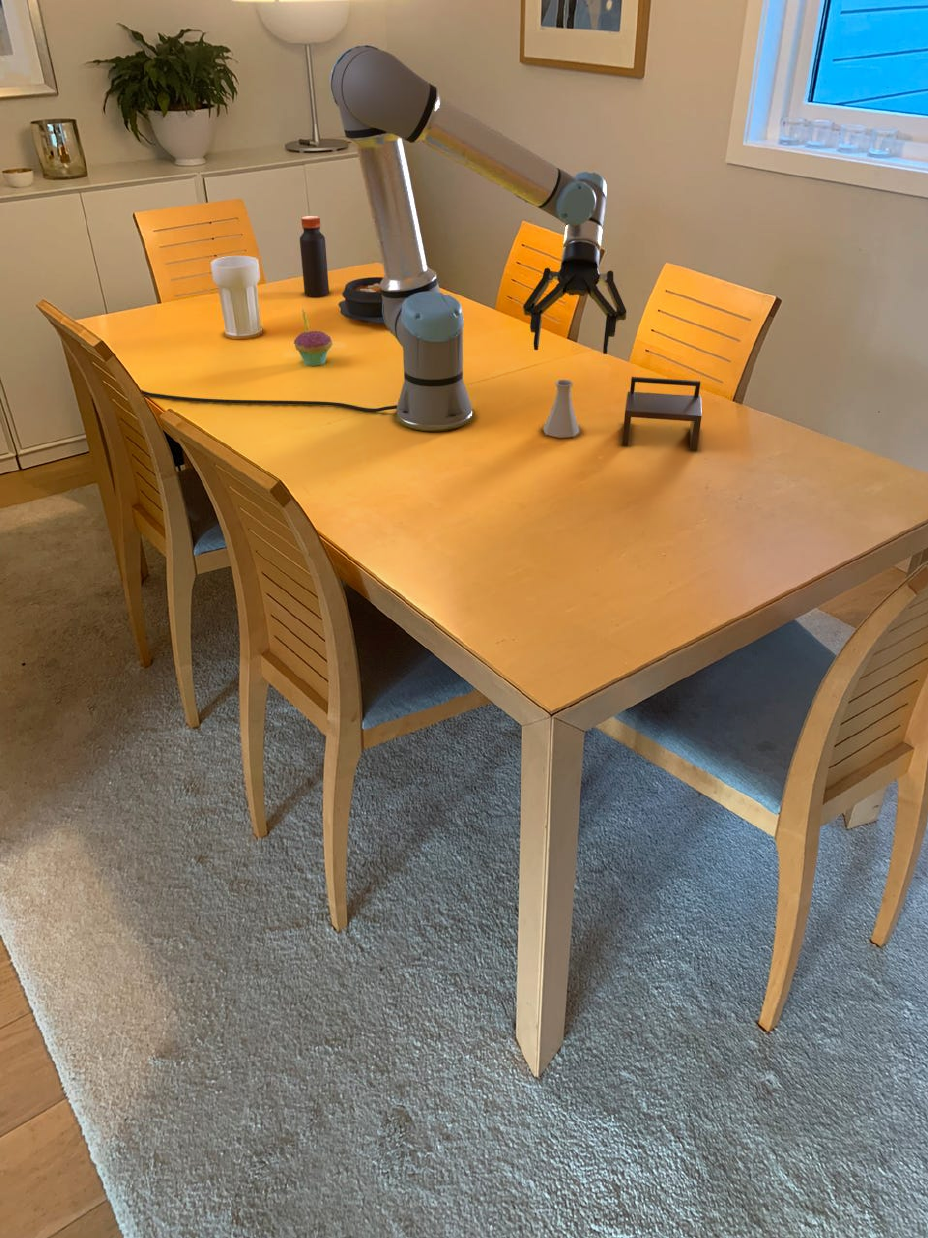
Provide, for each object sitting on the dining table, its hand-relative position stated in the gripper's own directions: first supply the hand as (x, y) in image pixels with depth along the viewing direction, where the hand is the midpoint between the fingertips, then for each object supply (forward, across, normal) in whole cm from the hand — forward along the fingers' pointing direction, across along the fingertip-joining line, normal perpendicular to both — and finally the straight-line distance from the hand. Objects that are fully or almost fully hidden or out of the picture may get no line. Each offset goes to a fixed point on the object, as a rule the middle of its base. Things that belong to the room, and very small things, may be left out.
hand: (570, 348), depth 189 cm
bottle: (-43, +77, -63) cm, 108 cm away
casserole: (-30, +55, -50) cm, 80 cm away
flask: (+16, 0, -3) cm, 16 cm away
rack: (+16, -19, -4) cm, 25 cm away
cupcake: (-5, +60, -24) cm, 65 cm away
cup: (-17, +84, -36) cm, 93 cm away
